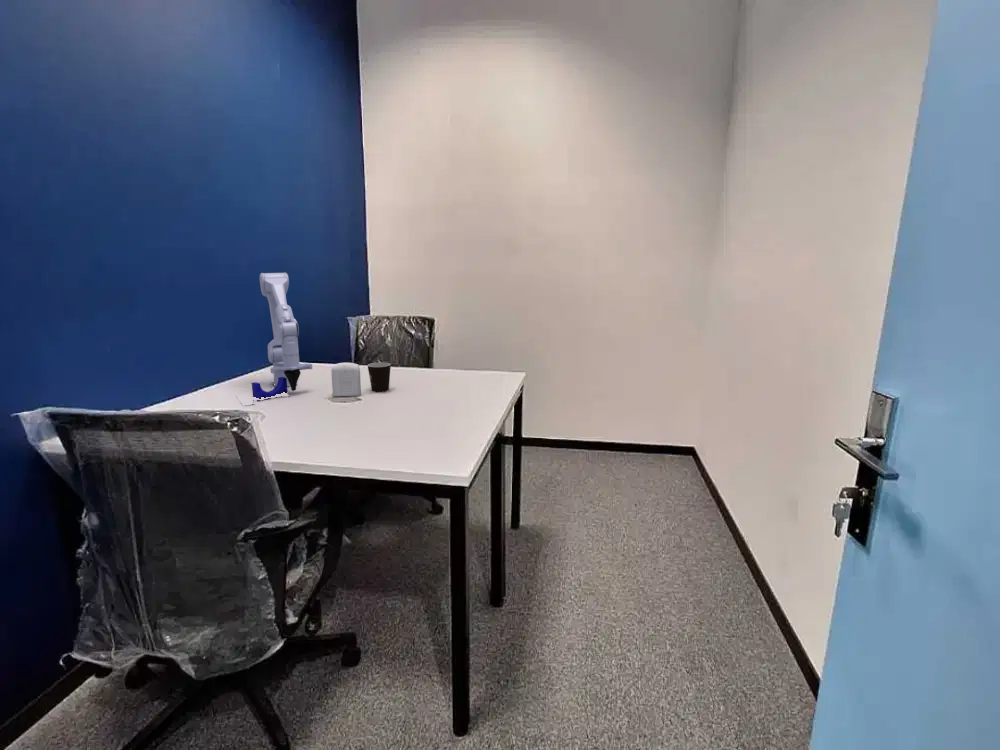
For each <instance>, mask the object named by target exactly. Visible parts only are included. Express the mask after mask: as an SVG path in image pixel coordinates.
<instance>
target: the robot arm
mask: <svg viewBox="0 0 1000 750" xmlns="http://www.w3.org/2000/svg"><path fill="white" fill-rule="evenodd" d="M259 284H260V292H261V295H262V296H264V297H266V298H267V302H268V304H269V305H268V306H269V312H270V320H271V325H272V326H271V327H272V334H273V339H271V341H270V342H269V343H268V344H267V358H268V361H269V363H270V364H272V367H270V368H269V369H270V373H271V374H273V381H272V382H271V384H272V383H274V384H275V386H276V385H277V383H278V378H279V377H285V378H286V379H287V386H288V387H290V390H291V392H293V391H297V386H298V381H299V378H300V375H301V371H305V370H313V364H312V362H311V363H300V354H299V351H300V350H299V340H298V337H299V334H300V329H299V323H298V321H297V320H296V318H295V317H294V313H293V309H292V307H291V306H290V305H288V303H287V296H286V295H287V293H288V290H289V285H290V280H289V274H288V273H287V272H265V273H264V272H261V273H260V274H259ZM275 386H274V387H275Z"/></svg>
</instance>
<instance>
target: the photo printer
mask: <svg viewBox="0 0 1000 750" xmlns="http://www.w3.org/2000/svg"><path fill="white" fill-rule="evenodd" d="M361 381H362V380H361V368H360V365H359V364H357V363H353V362H339V363H335V364H333V365H332V366H331V384H332V385H331V389H332V396H333V397H357V396H358V397H359V396H360V397H361V396H362V389H361V388H362V387H361Z"/></svg>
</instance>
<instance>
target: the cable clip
mask: <svg viewBox="0 0 1000 750" xmlns="http://www.w3.org/2000/svg"><path fill="white" fill-rule="evenodd" d="M251 391H252V397H256V398H259V399H261V397H264V398H266V397H271V396H275V395H276V394H281V393H283V392H285V393H287V392H288V387H287V379H286V378H285V377H279V378H278V383H277V385H276V387H275V386H274V388H273V389H271V390H270V391H265V390H263V388H262V386H261V382H256V381H254V382H251ZM288 393H289V392H288Z"/></svg>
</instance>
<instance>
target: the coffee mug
mask: <svg viewBox="0 0 1000 750" xmlns="http://www.w3.org/2000/svg"><path fill="white" fill-rule="evenodd" d="M391 364H392V363H389V362H373V363H368V364H367V371H368V375H369V376H368V377H369V382H370V388H371V392H372V393H385V392H388V391H389V390H390V382H391V381H390V380H391V379H390V377H391Z"/></svg>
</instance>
